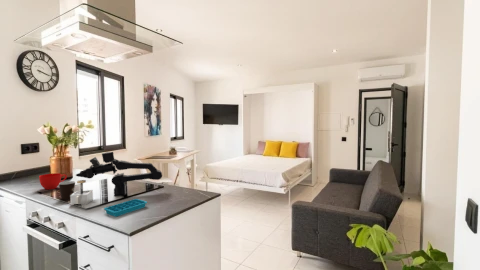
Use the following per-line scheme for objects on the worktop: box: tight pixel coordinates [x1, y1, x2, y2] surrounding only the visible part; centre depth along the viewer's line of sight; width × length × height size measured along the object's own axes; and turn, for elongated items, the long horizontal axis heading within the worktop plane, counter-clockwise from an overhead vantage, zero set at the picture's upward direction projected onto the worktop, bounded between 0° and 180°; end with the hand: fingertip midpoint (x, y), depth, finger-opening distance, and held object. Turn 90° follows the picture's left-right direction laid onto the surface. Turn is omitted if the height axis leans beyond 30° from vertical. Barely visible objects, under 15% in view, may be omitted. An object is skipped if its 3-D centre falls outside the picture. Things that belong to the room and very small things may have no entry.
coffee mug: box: [58, 180, 76, 200], centre depth 159 cm, size 12×9×10 cm
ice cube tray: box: [103, 198, 148, 218], centre depth 136 cm, size 12×20×3 cm, turn 147°
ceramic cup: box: [38, 172, 68, 190], centre depth 182 cm, size 13×17×10 cm
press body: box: [69, 189, 94, 206], centre depth 148 cm, size 9×12×6 cm
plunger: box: [74, 179, 90, 195], centre depth 149 cm, size 7×7×8 cm
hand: (78, 173), depth 156 cm, fingers open, 9 cm apart
